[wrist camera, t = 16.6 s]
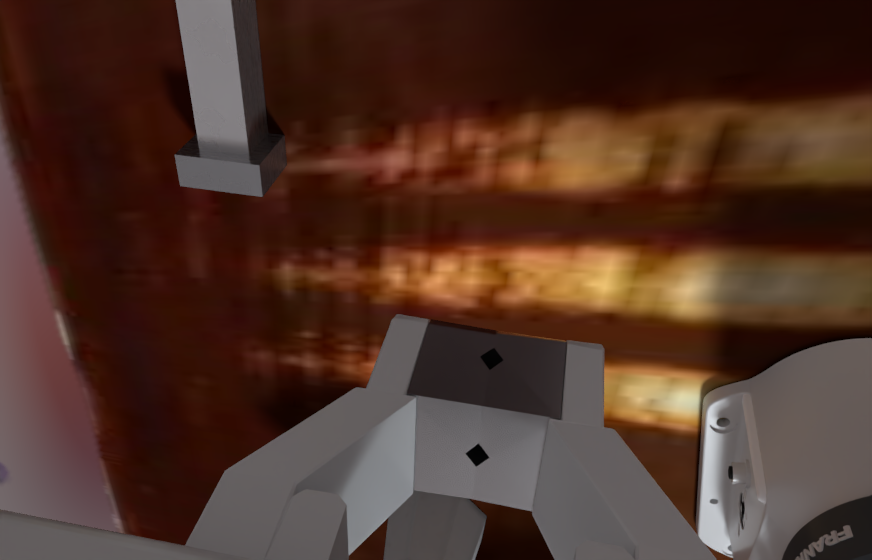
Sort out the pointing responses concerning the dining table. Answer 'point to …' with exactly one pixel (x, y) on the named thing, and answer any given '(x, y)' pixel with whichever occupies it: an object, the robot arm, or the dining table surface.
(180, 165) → the slide rail
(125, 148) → the dining table surface
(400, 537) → the coffee maker
